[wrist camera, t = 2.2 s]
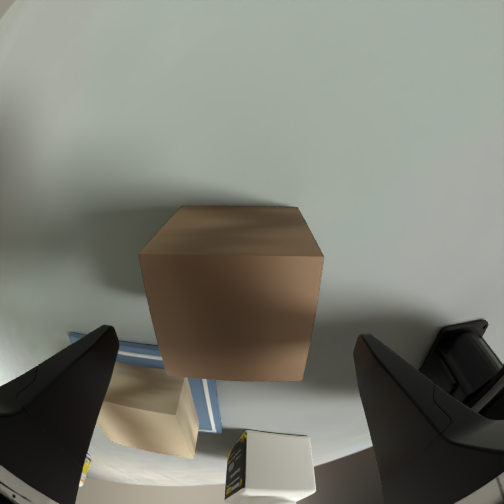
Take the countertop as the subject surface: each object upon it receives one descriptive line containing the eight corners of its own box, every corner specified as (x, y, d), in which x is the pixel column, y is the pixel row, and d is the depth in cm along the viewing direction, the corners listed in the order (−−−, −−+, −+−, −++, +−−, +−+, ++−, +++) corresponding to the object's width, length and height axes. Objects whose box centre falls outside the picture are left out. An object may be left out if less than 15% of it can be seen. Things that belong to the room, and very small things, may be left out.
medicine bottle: (245, 428, 23) (241, 537, 12) (310, 435, 23) (322, 533, 12) (227, 452, 25) (221, 539, 14) (283, 458, 26) (287, 540, 15)
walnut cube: (297, 207, 14) (324, 257, 8) (289, 304, 16) (302, 380, 11) (182, 205, 14) (138, 253, 9) (191, 301, 16) (167, 375, 11)
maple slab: (186, 371, 18) (175, 415, 15) (199, 423, 22) (193, 458, 18) (94, 357, 18) (75, 392, 15) (123, 410, 22) (111, 441, 18)
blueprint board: (211, 350, 18) (210, 356, 17) (222, 430, 23) (221, 435, 22) (71, 332, 18) (68, 336, 18) (114, 413, 23) (112, 417, 22)
